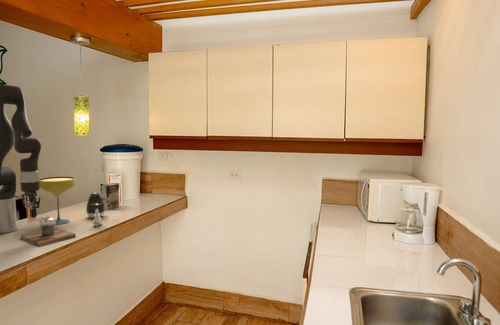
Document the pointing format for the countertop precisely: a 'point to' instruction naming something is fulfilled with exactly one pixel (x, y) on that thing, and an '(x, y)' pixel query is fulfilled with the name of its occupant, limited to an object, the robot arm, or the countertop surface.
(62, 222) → the cocktail glass
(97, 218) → the valve
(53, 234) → the base board
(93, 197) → the black egg-shaped body
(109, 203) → the coffee box
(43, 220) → the coupling
